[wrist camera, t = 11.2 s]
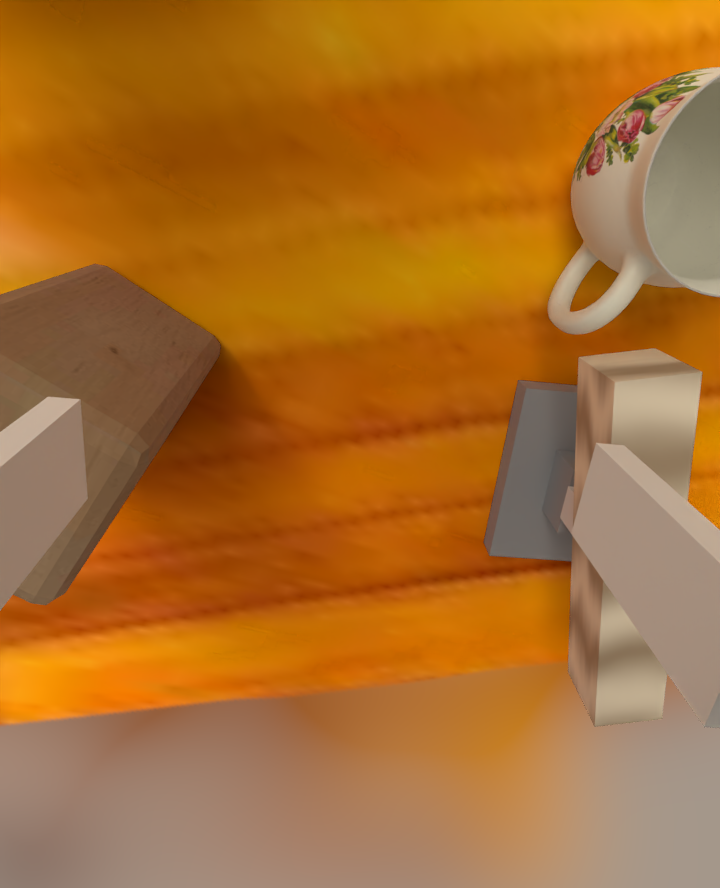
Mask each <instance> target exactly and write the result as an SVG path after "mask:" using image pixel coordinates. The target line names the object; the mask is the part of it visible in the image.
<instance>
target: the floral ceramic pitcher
mask: <svg viewBox="0 0 720 888" xmlns="http://www.w3.org/2000/svg"><path fill="white" fill-rule="evenodd" d="M571 207H572V213H573V217H574V220H575V223H576V226H577V229H578V231H579V233H580V235H581V237H582V239H583V240H584V242H583V244H582V246H581V247H580V248H579V250H578V251H577V252H576V254H575V255H574V256H573V258H572V259H571V260H570V262H569V263H568V265H567V266H566V267H565V269H564V270H563V272H562V273H561V275H560V277H559V278H558V280H557V282H556V284H555V286H554V288H553V290H552V293H551V295H550V298H549V301H548V315H549V319H550V320H551V321H552V323H553V324H554V325H555V326H556V327H557V328H559V329H560V330H562V331H564V332H565V333H569V334H586V333H589V332H593V331H595V330H597V329H599V328H601V327H603V326H605V325H606V324H608V323H609V322H611V321H612V320H613V319H614V318H615V317H617V316H618V315H619V314H620V313H621V312H622V311H623V310H624V309H625V308H626V307H627V306H628V304H629V303H630V302H631V301H632V299H633V298H634V297H635V295H636V294H637V292H638V291H639V289H640V287H641V286H642V284H643V283H644V284H648V285H653V286H659V287H671V288H677V287H686V288H688V289H690V290H693V291H695V292H698V293H700V294H704V295H709V296H713V297H720V67H716V68H703V69H698V70H693V71H688V72H683V73H680V74H677V75H674V76H671V77H668V78H666V79H663V80H660V81H658V82H656V83H654V84H652V85H650V86H648V87H646V88H644V89H642V90H640V91H639V92H637V93H636V94H634V95H633V96H631V97H630V98H628V99H627V100H626V101H624V102H623V103H621V104H620V105H619V106H618V107H617V108H616V109H614V110H613V111H612V112H611V113H610V114H609V115H608V116H607V117H606V118H605V119H604V120H603V122H602V123H601V124H600V125H599V126H598V127H597V128H596V130H595V131H594V133H593V134H592V135H591V137H590V138H589V140H588V141H587V143H586V145H585V147H584V148H583V150H582V152H581V154H580V157H579V159H578V161H577V164H576V167H575V170H574V174H573V179H572V185H571ZM598 260H600V261H602V262H603V263H604V264H605V265H607V266H608V267H609V268H610V269H612V270H614V271H616V272H617V273H619V274H618V276H617V278H616V279H615V281H614V282H613V284H612V285H611V286H610V288H609V289H608V290H607V291H606V292H605V293H604V294H603V295H602V296H601V297H600V298H599V299H598V300H597V301H596V302H594V303H593V304H591V305H590V306H588V307H586V308H584V309H582V310H579V311H575V312H570V306H571V303H572V300H573V297H574V295H575V293H576V291H577V289H578V287H579V285H580V283H581V281H582V280H583V278H584V277H585V275H586V274H587V273H588V271H589V270H590V269H591V267H592V266H593V265H594V264H595V263H596V262H597V261H598Z"/></svg>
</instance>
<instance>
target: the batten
mask: <svg viewBox="0 0 720 888" xmlns="http://www.w3.org/2000/svg"><path fill="white" fill-rule="evenodd" d="M701 380H702V372H701V371H699V370H697V369H695V368H693V367H691V366H689V365H687V364H685V363H683V362H681V361H679V360H677V359H675V358H673V357H671V356H669V355H667V354H665V353H663V352H661V351H659V350H657V349H655V348H652V349H643V350H635V351H626V352H617V353H609V354H600V355H592V356H583V357H579V358H578V388H577V417H576V447H575V476H574V506H573V525H574V521H575V518H576V514H577V510H578V507H579V503H580V499H581V496H582V492H583V489H584V485H585V481H586V478H587V474H588V470H589V467H590V463H591V460H592V456H593V452H594V449H595V445H596V443H602V444H614V445H624V446H625V447H627V448H628V449H629V450H630V451H631V452H632V453H633V454H634V455H636V456H637V457H638V458H639V459H640V460H641V461H642V462H643V463H645V464H646V465H647V466H648V467H649V468H650V469H651V470H652V471H654V472H655V473H656V474H657V475H658V476H659V477H660V478H661V479H663V480H664V481H665V482H666V483H667V484H668V485H669V486H671V487H672V488H673V489H674V490H675V491H676V492H677V493H678V494H680V495H681V496H682V497H683V498H684V499H685V500H686V501H687V500H688V491H689V483H690V474H691V466H692V457H693V448H694V440H695V431H696V423H697V414H698V406H699V397H700V388H701ZM568 673H569V675H570V677H571V679H572V681H573V683H574V685H575V687H576V689H577V691H578V693H579V695H580V697H581V699H582V702H583V704H584V706H585V708H586V710H587V712H588V714H589V716H590V718H591V720H592V722H593V724H594V726H595V727H596V726H605V725H613V724H623V723H631V722H640V721H649V720H658V719H662V715H663V706H664V697H665V689H666V680H667V672H666V671H665V669H664V668H663V666H662V665H661V664H660V662H659V661H658V659H657V658H656V656H655V655H654V653H653V652H652V651H651V649H650V648H649V646H648V645H647V643H646V642H645V640H644V639H643V637H642V636H641V635H640V633H639V632H638V630H637V629H636V627H635V626H634V624H633V623H632V621H631V620H630V619H629V617H628V616H627V614H626V613H625V611H624V610H623V608H622V607H621V605H620V604H619V603H618V601H617V600H616V598H615V597H614V595H613V594H612V592H611V591H610V589H609V588H608V587H607V585H606V584H605V582H604V581H603V579H602V578H601V576H600V575H599V573H598V572H597V571H596V569H595V568H594V566H593V565H592V563H591V562H590V560H589V559H588V557H587V556H586V555H585V553H584V552H583V550H582V549H581V547H580V546H579V544H578V543H577V542H576V540H575V539H574V537H573V536H572V565H571V595H570V624H569V654H568Z"/></svg>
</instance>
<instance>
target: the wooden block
mask: <svg viewBox="0 0 720 888" xmlns="http://www.w3.org/2000/svg"><path fill="white" fill-rule="evenodd" d="M220 348H221V344H220V343H219V342H218V340H217V339H216V338H215V336H214V335H212V334H211V333H209V332H207V331H206V330H204V329H203V328H201V327H200V326H198V325H197V324H195V323H194V322H192V321H190V320H189V319H187V318H186V317H184V316H183V315H181V314H180V313H178V312H177V311H175V310H174V309H172V308H170V307H169V306H167V305H166V304H164V303H163V302H161V301H160V300H158V299H157V298H155V297H153V296H152V295H150V294H149V293H147V292H146V291H144V290H143V289H141V288H140V287H138V286H137V285H135V284H133V283H132V282H130V281H129V280H127V279H126V278H124V277H123V276H121V275H120V274H118V273H116V272H115V271H113V270H112V269H110V268H109V267H107V266H103V265H98V264H93V265H90V266H87V267H84V268H81V269H78V270H75V271H72V272H69V273H65V274H62V275H59V276H56V277H53V278H50V279H47V280H44V281H41V282H38V283H35V284H32V285H29V286H26V287H23V288H20V289H16V290H13V291H10V292H7V293H4V294H1V295H0V432H1V431H2V430H4V429H5V428H6V427H8V426H9V425H10V424H12V423H13V422H14V421H16V420H17V419H19V418H20V417H21V416H23V415H24V414H25V413H27V412H28V411H29V410H31V409H32V408H33V407H35V406H36V405H37V404H39V403H40V402H42V401H43V400H44V399H46V398H47V397H59V398H71V399H80V400H81V413H82V427H83V441H84V455H85V468H86V482H87V496H88V499H87V500H86V502H85V503H84V504H83V505H82V507H81V508H80V509H79V511H78V512H77V513H76V514H75V516H74V517H73V518H72V519H71V521H70V522H69V523H68V525H67V526H66V527H65V528H64V530H63V531H62V532H61V534H60V535H59V536H58V537H57V539H56V540H55V541H54V542H53V544H52V545H51V546H50V548H49V549H48V550H47V551H46V553H45V554H44V555H43V557H42V558H41V559H40V560H39V562H38V563H37V564H36V565H35V567H34V568H33V569H32V571H31V572H30V573H29V574H28V576H27V577H26V578H25V580H24V581H23V582H22V583H21V585H20V586H19V587H18V588H17V590H16V591H15V592H14V594H13V595H15V596H17V597H20V598H22V599H24V600H26V601H28V602H30V603H34V604H41V605H47V604H48V603H50V602H51V601H53V600H54V599H56V598H58V597H59V596H61V595H63V594H64V593H65V592H66V591H67V589H68V588H69V586H70V585H71V583H72V582H73V580H74V579H75V577H76V576H77V574H78V573H79V571H80V570H81V568H82V567H83V565H84V564H85V562H86V561H87V559H88V557H89V556H90V554H91V553H92V551H93V550H94V548H95V547H96V545H97V544H98V542H99V541H100V539H101V538H102V536H103V535H104V533H105V532H106V530H107V529H108V527H109V525H110V524H111V522H112V521H113V519H114V518H115V516H116V515H117V513H118V512H119V510H120V509H121V507H122V506H123V504H124V503H125V501H126V500H127V498H128V497H129V495H130V493H131V492H132V490H133V489H134V487H135V486H136V484H137V483H138V481H139V480H140V478H141V477H142V475H143V474H144V472H145V471H146V469H147V468H148V466H149V465H150V463H151V462H152V460H153V458H154V457H155V455H156V454H157V452H158V451H159V449H160V448H161V446H162V445H163V443H164V442H165V440H166V439H167V437H168V435H169V434H170V432H171V431H172V429H173V428H174V426H175V424H176V423H177V421H178V420H179V418H180V417H181V415H182V413H183V412H184V410H185V409H186V407H187V406H188V404H189V403H190V401H191V399H192V398H193V396H194V395H195V393H196V392H197V390H198V388H199V387H200V385H201V384H202V382H203V381H204V379H205V377H206V376H207V374H208V373H209V371H210V370H211V368H212V367H213V365H214V363H215V362H216V360H217V359H218V357H219V355H220Z"/></svg>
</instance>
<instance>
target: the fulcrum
mask: <svg viewBox="0 0 720 888" xmlns="http://www.w3.org/2000/svg"><path fill="white" fill-rule="evenodd" d="M577 388H578V385H567V384H556V383H545V382H535V381H524V380H518V384H517V389H516V393H515V398H514V403H513V407H512V412H511V417H510V421H509V426H508V431H507V435H506V440H505V445H504V449H503V454H502V459H501V463H500V468H499V473H498V477H497V482H496V487H495V491H494V496H493V501H492V505H491V510H490V515H489V520H488V524H487V529H486V534H485V538H484V544H485V547H486V549H487V551H488V554H489V556H501V557H516V558H531V559H545V560H560V561H572V534H571V532H572V528H573V506H574V476H575V447H576V417H577Z"/></svg>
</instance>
